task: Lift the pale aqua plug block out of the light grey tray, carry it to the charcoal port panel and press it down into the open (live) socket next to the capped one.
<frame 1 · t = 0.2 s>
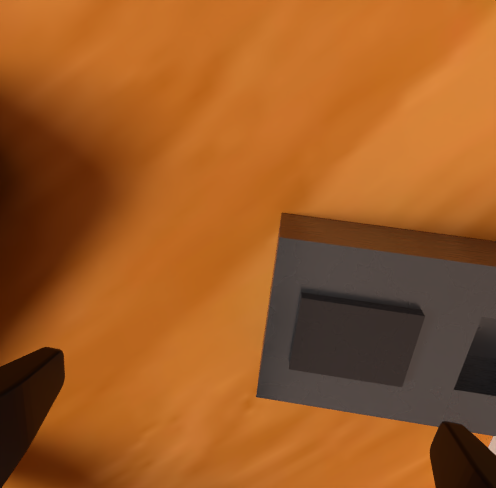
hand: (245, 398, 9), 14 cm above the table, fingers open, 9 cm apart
port panel: (416, 310, 24), on the table
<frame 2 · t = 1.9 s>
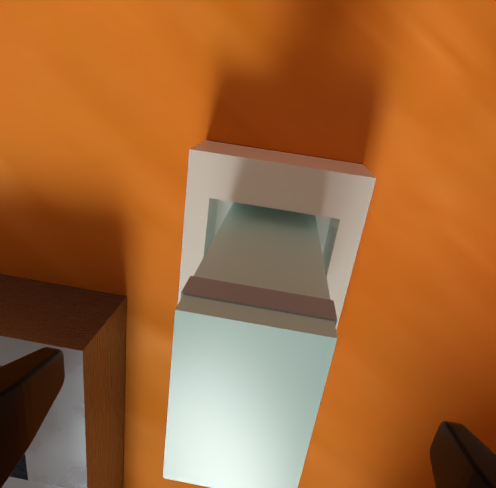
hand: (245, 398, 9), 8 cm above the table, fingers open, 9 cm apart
plug: (264, 264, 16), resting on light grey tray
port panel: (36, 422, 21), on the table
light grey tray: (265, 259, 16), on the table
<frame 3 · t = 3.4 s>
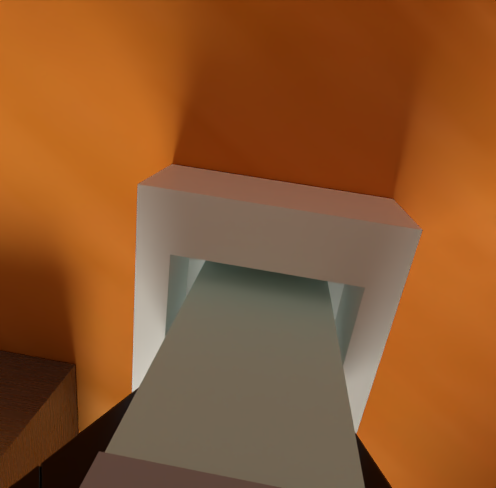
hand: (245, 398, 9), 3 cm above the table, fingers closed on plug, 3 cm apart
plug: (255, 331, 12), resting on light grey tray, touching gripper
light grey tray: (257, 322, 12), on the table
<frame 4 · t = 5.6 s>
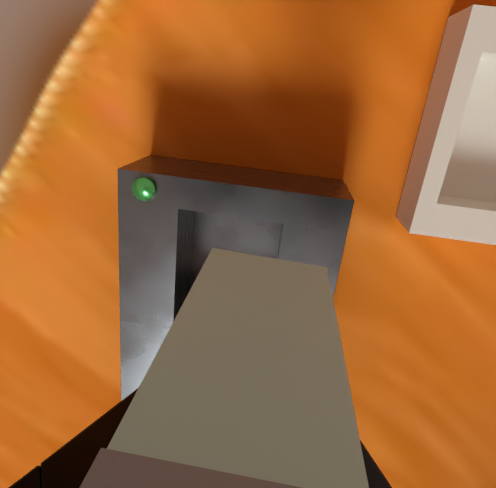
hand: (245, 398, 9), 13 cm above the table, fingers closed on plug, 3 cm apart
plug: (256, 329, 12), point 10 cm above the table, touching gripper
port panel: (229, 317, 23), on the table
light grey tray: (485, 134, 18), on the table
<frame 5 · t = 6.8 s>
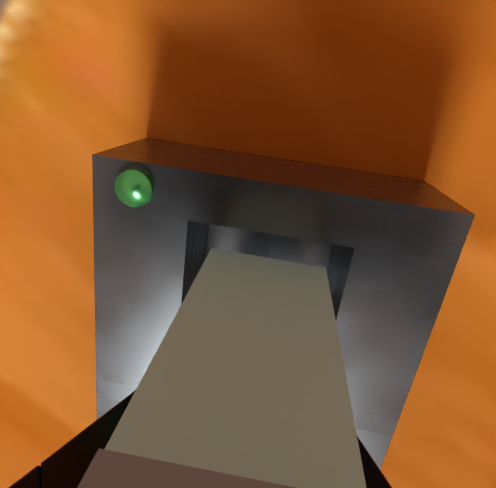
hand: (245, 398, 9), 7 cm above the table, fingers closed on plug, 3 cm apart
plug: (255, 330, 12), point 4 cm above the table, touching gripper
port panel: (248, 362, 17), on the table
when the fingers open (5 cm above the table, at t = 7.8 s): plug drops 2 cm, resting on port panel.
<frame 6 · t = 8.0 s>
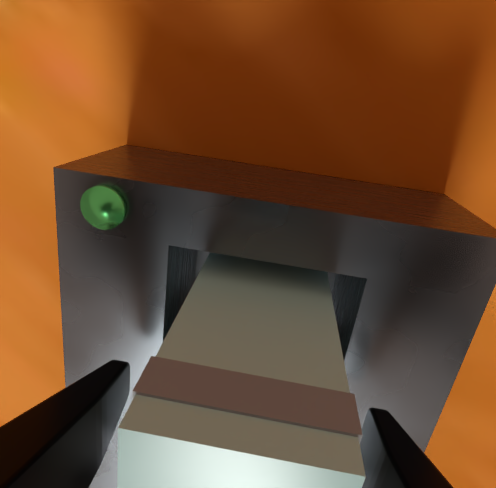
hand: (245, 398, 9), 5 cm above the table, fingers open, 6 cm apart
plug: (260, 301, 13), resting on port panel
port panel: (244, 393, 15), on the table
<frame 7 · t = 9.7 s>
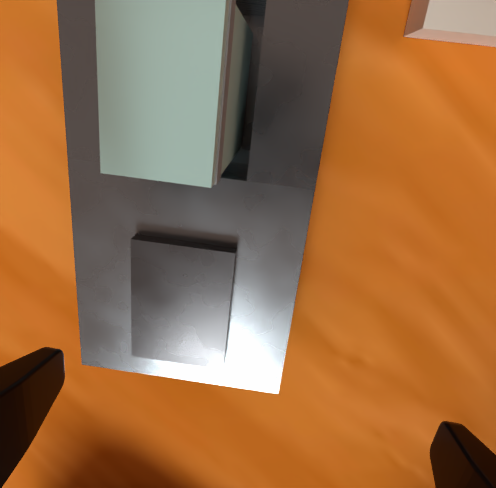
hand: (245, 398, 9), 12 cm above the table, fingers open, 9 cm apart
plug: (211, 89, 17), resting on port panel
port panel: (206, 184, 20), on the table
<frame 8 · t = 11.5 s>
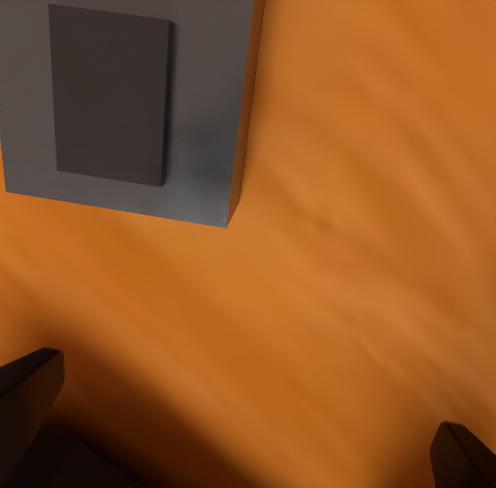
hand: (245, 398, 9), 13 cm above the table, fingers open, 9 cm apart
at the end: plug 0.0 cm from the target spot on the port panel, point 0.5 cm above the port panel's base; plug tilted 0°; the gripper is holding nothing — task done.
